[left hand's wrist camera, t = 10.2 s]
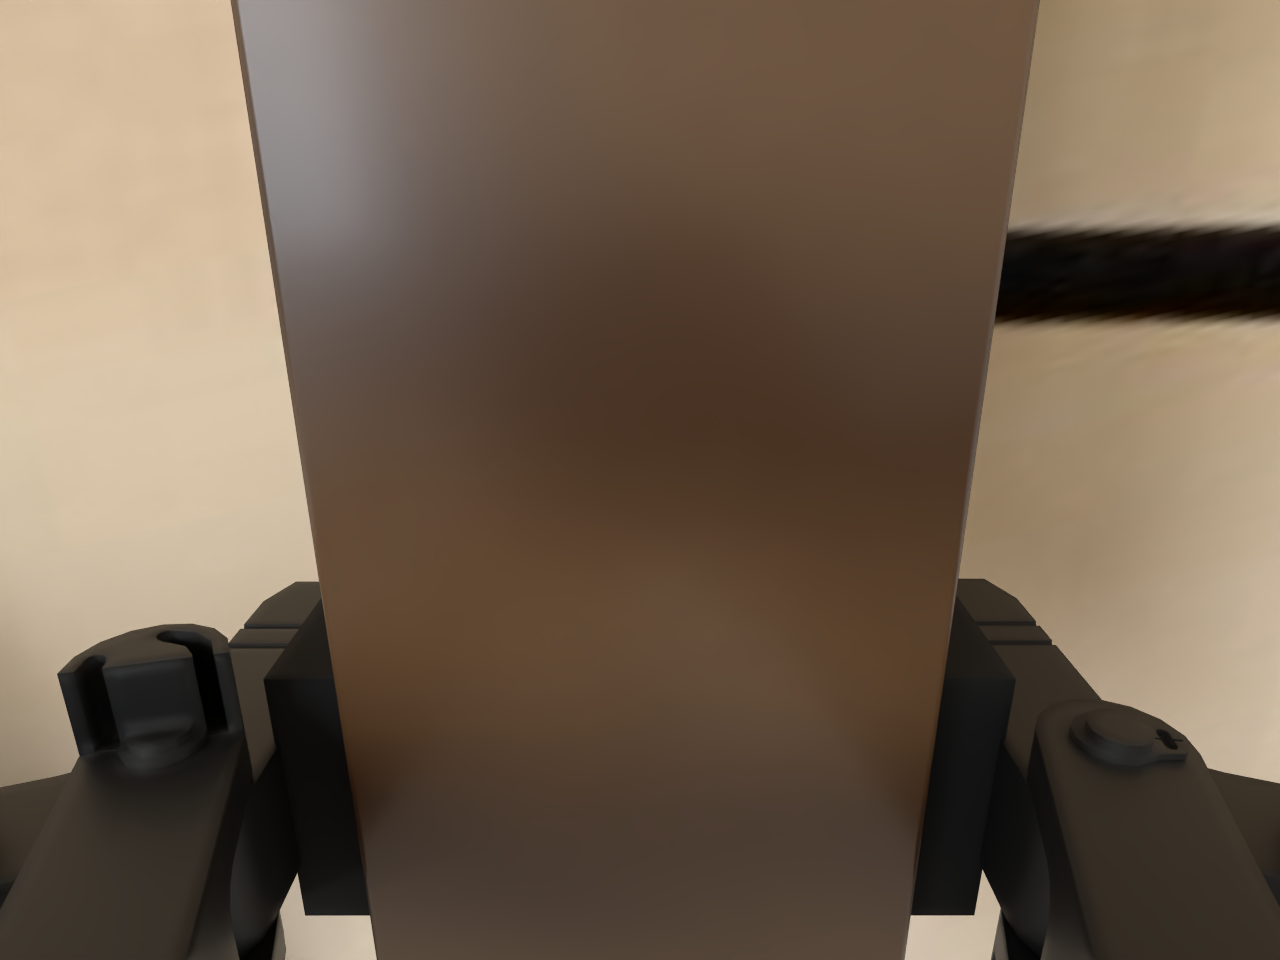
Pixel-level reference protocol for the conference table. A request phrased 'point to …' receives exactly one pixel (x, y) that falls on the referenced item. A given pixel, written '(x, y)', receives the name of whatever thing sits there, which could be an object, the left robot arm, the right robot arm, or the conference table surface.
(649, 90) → the bar
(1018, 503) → the conference table surface
